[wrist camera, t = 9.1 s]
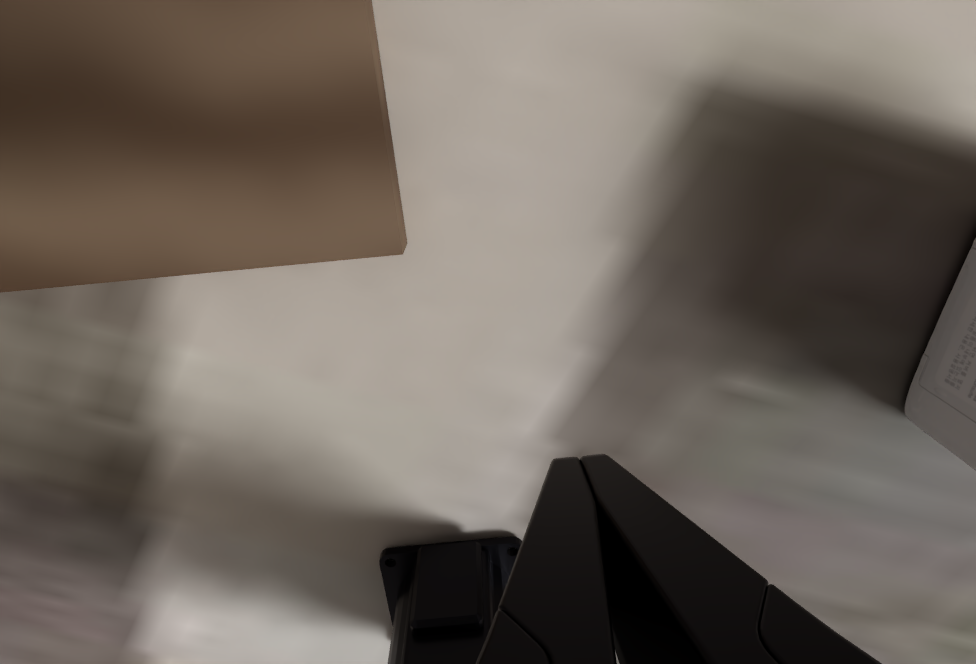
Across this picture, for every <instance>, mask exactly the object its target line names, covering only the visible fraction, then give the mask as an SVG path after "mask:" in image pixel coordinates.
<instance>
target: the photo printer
mask: <svg viewBox="0 0 976 664" xmlns="http://www.w3.org/2000/svg"><path fill="white" fill-rule="evenodd" d="M905 414H906V416H907V417H908V419H909V420H910V421H911V422H913V423H914V424H915V425H916V426H917V427H919V428H920V429H921V430H923V431H924V432H925V433H927V434H928V435H929V436H931V437H932V438H933V439H935V440H936V441H937V442H939V443H940V444H941V445H943V446H944V447H945V448H947V449H948V450H949V451H951V452H952V453H953V454H955V455H956V456H957V457H959V458H960V459H961V460H963V461H964V462H965V463H966V464H968V465H969V466H970V467H972V468H973V469H974V470H976V238H975V240H974V242H973V245H972V247H971V249H970V251H969V253H968V255H967V258H966V260H965V262H964V264H963V266H962V269H961V271H960V273H959V275H958V278H957V280H956V282H955V284H954V286H953V289H952V291H951V293H950V295H949V297H948V299H947V302H946V304H945V306H944V309H943V311H942V313H941V315H940V318H939V320H938V322H937V325H936V327H935V329H934V332H933V334H932V336H931V338H930V340H929V343H928V345H927V348H926V350H925V352H924V354H923V356H922V358H921V361H920V363H919V366H918V368H917V371H916V373H915V376H914V378H913V381H912V383H911V386H910V389H909V392H908V395H907V399H906V403H905Z"/></svg>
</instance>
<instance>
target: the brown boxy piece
mask: <svg viewBox="0 0 976 664" xmlns="http://www.w3.org/2000/svg"><path fill="white" fill-rule="evenodd" d="M406 245H407V238H406V232H405V225H404V218H403V211H402V204H401V198H400V191H399V184H398V177H397V170H396V163H395V157H394V150H393V143H392V136H391V129H390V123H389V116H388V109H387V102H386V95H385V89H384V82H383V75H382V68H381V61H380V55H379V48H378V41H377V34H376V27H375V21H374V14H373V7H372V0H0V292H10V291H21V290H31V289H42V288H52V287H63V286H73V285H84V284H94V283H105V282H116V281H126V280H137V279H147V278H158V277H168V276H179V275H189V274H200V273H211V272H221V271H232V270H242V269H253V268H263V267H274V266H284V265H295V264H306V263H316V262H327V261H337V260H348V259H358V258H369V257H379V256H390V255H400V254H403V252H404V250H405V248H406Z"/></svg>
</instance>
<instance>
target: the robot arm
mask: <svg viewBox="0 0 976 664" xmlns="http://www.w3.org/2000/svg"><path fill="white" fill-rule="evenodd" d="M511 547H514V548H516V549H513V550H511V549H509V548H511ZM389 558H390V559H394V560H393V561H392V560H388V559H389ZM380 569H381V573H382V578H383V583H384V587H385V592H386V597H387V601H388V606H389V611H390V615H391V620H392V625H393V630H392V637H391V644H390V651H389V658H388V664H617V663H616V655H615V651H616V654H617V657H618V660H619V663H620V664H882V663H880V662H879V661H877V660H876V659H874V658H873V657H871V656H870V655H869V654H867V653H866V652H864V651H863V650H861V649H860V648H858V647H857V646H855V645H854V644H852V643H851V642H850V641H848V640H847V639H845V638H844V637H842V636H841V635H839V634H838V633H836V632H835V631H834V630H832V629H831V628H830V627H828V626H827V625H826V624H824V623H823V622H821V621H820V620H819V619H817V618H816V617H815V616H813V615H812V614H811V613H809V612H808V611H807V610H805V609H804V608H803V607H801V606H800V605H799V604H797V603H796V602H795V601H793V600H792V599H791V598H790V597H788V596H787V595H786V594H784V593H783V592H782V591H781V590H779V589H778V588H777V587H776V586H774V585H772V584H770V585H768V581H767V580H766V579H765V578H764V577H762V576H761V575H760V574H759V573H757V572H756V571H755V570H753V569H752V568H751V567H750V566H748V565H747V564H746V563H745V562H743V561H742V560H741V559H739V558H738V557H737V556H736V555H734V554H733V553H732V552H730V551H729V550H728V549H727V548H725V547H724V546H723V545H721V544H720V543H719V542H718V541H716V540H715V539H714V538H713V537H711V536H710V535H709V534H707V533H706V532H705V531H704V530H702V529H701V528H700V527H698V526H697V525H696V524H695V523H693V522H692V521H691V520H690V519H688V518H687V517H686V516H684V515H683V514H682V513H681V512H679V511H678V510H677V509H675V508H674V507H673V506H672V505H670V504H669V503H668V502H667V501H665V500H664V499H663V498H661V497H660V496H659V495H658V494H656V493H655V492H654V491H652V490H651V489H650V488H649V487H647V486H646V485H645V484H643V483H642V482H641V481H640V480H638V479H637V478H636V477H635V476H633V475H632V474H631V473H629V472H628V471H627V470H626V469H624V468H623V467H622V466H620V465H619V464H618V463H617V462H615V461H614V460H613V459H612V458H610V457H609V456H607V455H605V454H597V455H587V456H582V457H581V458H580V460H579V459H578V458H577V457H566V458H556V459H553V460H552V462H551V464H550V467H549V470H548V473H547V475H546V478H545V481H544V483H543V486H542V489H541V492H540V494H539V497H538V500H537V503H536V505H535V508H534V511H533V513H532V516H531V519H530V522H529V524H528V527H527V530H526V533H525V535H524V538H523V541H521V540H520V539H519V538H517V537H502V538H491V539H480V540H469V541H458V542H447V543H436V544H425V545H414V546H403V547H392V548H387V549H385V550H383V551H382V553H381V556H380Z"/></svg>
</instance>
